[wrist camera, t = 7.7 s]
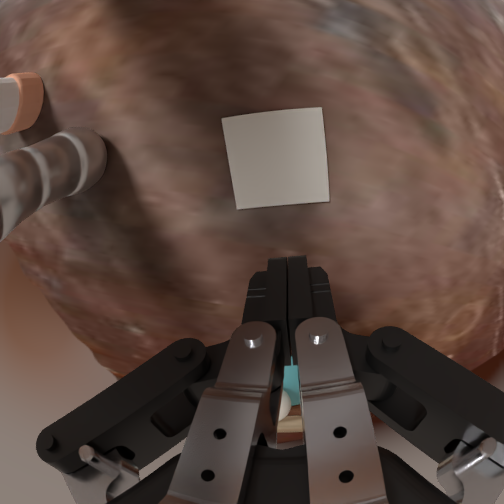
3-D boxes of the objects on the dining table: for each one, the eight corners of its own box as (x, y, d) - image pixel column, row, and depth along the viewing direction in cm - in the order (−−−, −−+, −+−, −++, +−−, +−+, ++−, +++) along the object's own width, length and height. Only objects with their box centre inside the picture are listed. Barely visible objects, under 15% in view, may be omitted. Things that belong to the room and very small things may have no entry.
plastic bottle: (114, 188, 24) (-48, 317, 7) (67, 181, 24) (-77, 280, 7) (118, 124, 21) (-87, 203, 3) (68, 123, 21) (-101, 192, 3)
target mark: (217, 354, 34) (217, 355, 33) (327, 350, 31) (327, 351, 31) (237, 405, 40) (237, 406, 40) (322, 403, 38) (322, 404, 38)
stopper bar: (235, 415, 42) (233, 426, 40) (326, 413, 40) (327, 425, 37) (237, 419, 43) (236, 431, 41) (326, 418, 41) (326, 430, 38)
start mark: (221, 118, 20) (221, 118, 20) (321, 107, 19) (321, 107, 19) (237, 208, 24) (237, 209, 24) (329, 200, 23) (329, 201, 22)
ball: (252, 394, 38) (251, 380, 35) (288, 393, 38) (291, 379, 35) (252, 426, 34) (251, 416, 30) (290, 425, 34) (294, 415, 30)
